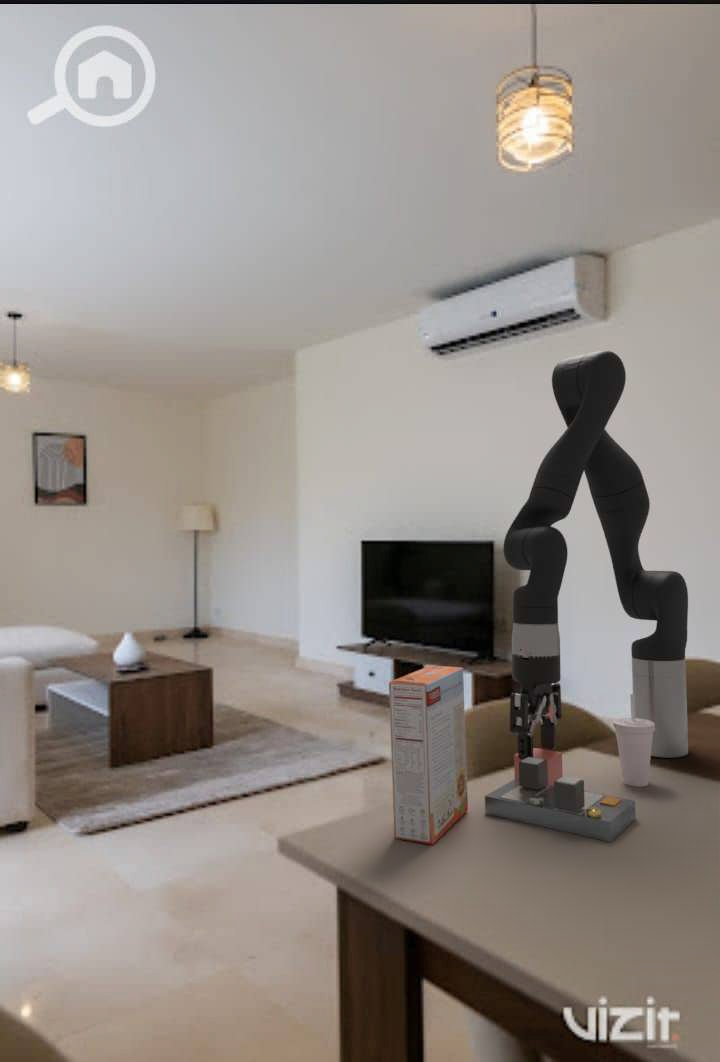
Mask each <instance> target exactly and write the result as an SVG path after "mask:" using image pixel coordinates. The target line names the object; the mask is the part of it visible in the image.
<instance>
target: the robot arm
mask: <svg viewBox="0 0 720 1062" xmlns="http://www.w3.org/2000/svg"><path fill="white" fill-rule="evenodd" d="M626 374H627V373H626V368H625V365H624V362H623V361H622V359H621V358H620V357H619V355H618V354H616V353H615V352H614V351H610V350H600V351H599V350H598V351H594V352H589V353H585V354H580V355H576V356H572V357H567V358H565V359H562V360H560V361H559V362H557V363H556V365H555V367H554V368H553V370H552V374H551V387H552V391H553V396H554V400H555V401H556V404H557V407H558V409H559V412H560V413H561V416H562V419H563V421H564V423H565V424H566V430H565V431H564V432H563V433H562V435H561V436H560V437H559V438H558V439H557V441H555V442H554V444H553V445H552V446H551V447H550V449H549V450H548V452H547V453H546V454H545V455H544V458H543V459H542V461H541V463H540V464H539V467H538V469H537V472H536V475H535V478H534V480H533V483H532V486H531V489H530V492H529V497H528V498H527V500H526V502H525V503H524V504H523V506H522V507H521V508H520V510H519V512H518V513H517V515H516V516H515V518H514V519H513V521H512V523H511V524H510V526H509V528H508V530H507V532H506V535H505V536H504V537H505V538H504V541H503V555H504V559H505V561H506V563H507V564H508V565H509V566H510V567H511V568H513V569H515V570H518V571H529V575H528V579H527V582H526V584H525V585H522V586H518V587H517V588H516V589H515V590H514V592H513V594H512V595H513V597H512V620H513V621H512V622H513V624H512V632H511V633H512V634H511V669H512V670H511V675H512V677H511V679H512V680H513V681H514V682H516V683H519V684H520V685H521V686H520V692H519V693H516V692H511V693H510V699H509V700H510V701H509V703H510V704H509V705H510V706H509V709H510V711H509V732H510V733H511V734H516V735H517V753H518V757H519V759H521V760H524V759H526V758H528V757H532V758H533V748H534V736H533V735H534V731H535V726H536V725H538V724H539V723H541V725H540V746H541V749H544V750H553V749H555V748H556V726H557V725H558V720H561V719H562V696H561V695H562V691H561V689H562V688H561V683H559V682H560V681H561V635H560V630H559V629H560V627H559V605H558V604H559V603H558V597H559V594H560V590H561V587H562V583H563V579H564V574H565V570H566V566H567V561H568V553H569V552H568V545H567V541H566V539H565V536H564V535H563V533H562V531H560V530H559V529H558V528H555V527H554V526H553V525H554V524H555V523H558V522H559V521H562V520H564V519H567V517H568V515H570V512H571V510H572V507H573V504H574V501H575V498H576V495H577V492H578V490H579V486H580V483H581V479H582V477H583V475H585V477H586V481H587V484H588V488H589V491H590V495H591V496H590V497H591V498H592V502H593V505H594V507H595V511H596V514H597V516H598V520H599V522H600V524H601V525H600V526H601V528H602V531H603V534H604V538H605V541H606V545H607V547H608V552H609V555H610V559H611V563H612V569H613V574H614V579H615V583H616V584H615V585H616V589H617V593H618V597H619V600H620V603H621V606H622V608H623V611H624V612H625V614H626V615H628V617H630V618H631V619H635V620H640V621H641V620H643V621H655V622H656V626H655V631H654V632H653V633H652V634H649V635H648V636H646V637H643V638H639V639H636V640H634V641H633V642H632V643H631V673H632V694H634V712H635V718H638V719H645V720H649V721H652V722H654V723H655V731H653V739H652V748H651V757H654V758H655V757H657V758H669V759H671V758H681V757H685V756H687V755H688V754H689V741H688V737H689V735H688V730H689V729H688V704H687V702H688V701H687V697H688V696H687V672H686V671H687V669H686V668H687V667H686V648H687V642H688V617H689V616H688V613H689V611H688V610H689V594H688V593H689V591H688V586H687V583H686V580H685V578H684V577H683V575H682V574H681V573H679V572H677V571H673V570H645V569H644V567H643V565H642V563H641V558H640V553H639V543H640V538H641V536H642V533H643V531H644V528H645V524H646V522H647V519H648V517H649V513H650V505H651V504H650V503H651V502H650V498H649V493H648V491H647V487H646V483H645V479H644V477H643V474H642V471H641V469H640V467H639V466H638V463H636V462H635V460H634V459H633V458H632V457H631V455H629V454H628V452H627V451H626V450H624V449H623V447H622V446H621V445H620V444H619V443H618V442H616V440H615V439H614V438H613V437H612V436H611V435H610V434H609V432H608V431H607V430H606V427H607V425H608V423H609V421H610V419H611V416H612V414H613V413H614V411H615V409H616V407H617V405H618V403H619V401H620V400H621V398H622V395H623V392H624V390H625V386H626V379H627V377H626Z"/></svg>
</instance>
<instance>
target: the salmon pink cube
mask: <svg viewBox="0 0 720 1062" xmlns="http://www.w3.org/2000/svg"><path fill="white" fill-rule="evenodd" d="M513 757H514V758H513V759H514V763H513V764H514V766H513V767H514V779H516V778H517V779H519V762H520V761H522V760H521V759H519V757H518V752H516V753H514V756H513ZM533 758H538V759H544V760H546V761H547V784H549V785H554V782H555V781H556V780H558V779H560V778H561V777H563V776H564V775H563V752H561V751H555V750H552V749H545V748H536V747H533Z"/></svg>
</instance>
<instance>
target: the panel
mask: <svg viewBox="0 0 720 1062" xmlns="http://www.w3.org/2000/svg"><path fill="white" fill-rule="evenodd" d="M584 803H585V806H584V807H583V808H582V809H581V810H579V811H578V812H577V813H574V812H570V811H565V810H560V809H555V807H554V785H549V784H547V785H545V786H544V787H542V788H541V789H539V790H537V789H532V788H527V787H522V786H519V779H517V778H516V779H515V778H514V779H513V780H510V781H509V782H507V783H506V784H504V785H502V786H501V787H498V788H497V789H495V790H493V791H491V792H490V793H488V794H486V795H484V812H485V815H490V816H495V817H499V818H503V819H507V820H512V821H516V822H521V823H525V824H529V825H535V826H539V827H543V828H546V829H552V830H556V831H561V832H566V833H571V834H575V835H577V836H578V835H579V836H582V837H588V838H592V839H596V840H600V841H606V842H609V843H611V842H612V841H613V840H614V839H616V838H617V837H618V836H619V835H620V834H621V833H622V832H623V831H624V830H626V829H627V827H628V826H630V825H631V824H632V823H633V822H634V821H635V820H636V816H637V815H636V800H634V799H627V798H622V797H617V796H611V795H607V794H600V793H596V792H591V791H585V790H584Z"/></svg>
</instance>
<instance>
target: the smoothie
mask: <svg viewBox="0 0 720 1062" xmlns="http://www.w3.org/2000/svg"><path fill="white" fill-rule="evenodd" d="M629 695H630V717H625V718H624V717H623V718H621V717H620V718H616V719H614V720H613V721H612V722H613V724H612V728H613V729H614V730H615V735H616V736H615V737H616V742H617V748H618V755H619V763H620V768H621V769H620V770H621V775H622V783H623V784H624V785H627V786H631V787H638V788H639V787H646V786H648V785H649V779H650V778H649V775H650V767H651V766H650V765H651V758H652V756H651V748H652V739H653V731H655V723H654V722H652V721H649V720H645V719H638V718H635V712H634V694H633V693H630V694H629Z"/></svg>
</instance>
